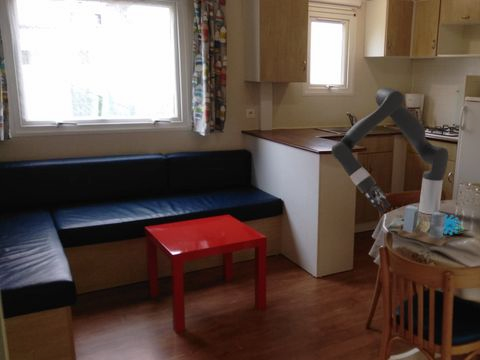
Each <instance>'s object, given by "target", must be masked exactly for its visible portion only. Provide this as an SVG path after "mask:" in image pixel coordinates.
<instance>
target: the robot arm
mask: <svg viewBox="0 0 480 360" xmlns="http://www.w3.org/2000/svg"><path fill="white" fill-rule="evenodd" d="M404 98H405V97H404V95H403V93H402V92H401V91H399V90H398V89H394V88H392V87H382V88H381V87H380V89H379V90H377V92H376V94H375V101H376V104H377V106H378V108H377V109H376V110H375V111H373V112H372V113H370V114H369V115H367V116H365V117H363V118H361V119H360V120H358V121H357V122H355V123H354V124H353V125H352V126H351V127H350V128H349V129H348V131H346V133H345V135H344V137H342V138H341V139H340V141H338V142H335V143H334V144H333V145H332V147H331V155H332V157H333V158H334V159H335V160H336V159H337V161H338V163H340V165H342V168H343V169H344V171H345V172H346V174H347V175H348V176H349V177H350V179H351V181H352V182H353V184H355V186H356V187H357V188H358V190H359V191H360V192H361V194H364V193H365V192H366V193H365V194H364V197H365V198H366V199H367V201H368V202H369V204H370V205H371V207H375V208H376V209H377V210H378V211H379V213H380V214H382V213H384V212H385V211H386V209H388V208H390V207H391V203H390V202H389V201H388V200H387V199H386V197H387V195H386V194H385V192H384V191H383V190H382V189H381V188H380V187H379V186H378V185H377V186H375V185H376V184H377V182H376V180H375V179H374V177H372V175H371V174H370V173H369V172H368V171H367V170H366V169H365V168H364V167H363V165H362V164H361V163H360V161H359V160H358V159H357V158H356V157H355V155H353V153H352V150H353V149H354V148H355V146H357V145H358V144H359V143H360V142H361V141H362V140H363V139H364V138H365V137H366V136H367V135H368V134H369V133H370V132H371V131H372V130H373V129H375V128H376V126H378V125H379V124H380V123H382V122H383V121H385V120H386V119H387V118H389V117H390V118H391V120H392V122H393V123H394V124H395V125H396V126H397V128H398V129H399V131H400V132H401V133H402V134H403V136H404V137H405V138H406V139H407V140H408V141H409V142H410V144H411V145H412V146H413V147H414V149H415V150H416V152H417V153H418V155H419V157H420V158H421V159H422V160H423V162H424V163H425V164H428V165H431V168H430V170H425V171H423V173H422V181H421V191H420V198H419V205H418V212H419V213H422V214H426V215H432V213H434V212H440V204H441V198H442V189H443V181H444V177H445V174H446V171H447V167H448V162H449V151H448V150H447V148H445V147H443V146H438V145H433V144H432V143H430V141H429V140H428V139H427V138H426V128H425V126H424V125H423V124H424V123H422V122H421V121H420V119H419V118H418V117H417V116H416V115H414V113H412V112H411V111H409V110H408V109H407V108H406V107H404V106H403V103H404V101H405V99H404ZM381 203H382V204H383V205H382V204H381ZM385 208H386V209H385Z"/></svg>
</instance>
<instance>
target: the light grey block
mask: <svg viewBox="0 0 480 360" xmlns="http://www.w3.org/2000/svg"><path fill="white" fill-rule="evenodd" d="M404 209H405V210H404V218H403V223H402V224H403V230H405V231H409V232H413V231H414V230H415V229H416V228H417V226H418V216H419V206H413V205H407V206H405V208H404Z"/></svg>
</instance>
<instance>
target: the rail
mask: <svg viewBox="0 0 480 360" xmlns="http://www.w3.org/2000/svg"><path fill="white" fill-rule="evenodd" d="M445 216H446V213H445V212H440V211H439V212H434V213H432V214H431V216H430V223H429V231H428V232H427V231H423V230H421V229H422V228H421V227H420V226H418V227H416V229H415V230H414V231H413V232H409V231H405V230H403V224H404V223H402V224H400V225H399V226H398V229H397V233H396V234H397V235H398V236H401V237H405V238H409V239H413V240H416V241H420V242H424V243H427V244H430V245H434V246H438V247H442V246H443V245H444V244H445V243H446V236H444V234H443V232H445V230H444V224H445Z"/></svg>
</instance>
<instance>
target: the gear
mask: <svg viewBox="0 0 480 360" xmlns="http://www.w3.org/2000/svg"><path fill="white" fill-rule="evenodd" d="M445 214H446V213H445ZM454 217H455V216H454V214H450V215H448V214H446V216H445V224H444V231H443V233H444V234H446V235H447V234H448V232H449V236H453V235H454V234H459V233H458V232H460V233H461V232H462V231H464V229H465V227H464V226H461V225H462V222H461V221H459V218H458V217H455V218H454ZM453 231H454V232H453ZM444 234H443V235H444Z"/></svg>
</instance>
